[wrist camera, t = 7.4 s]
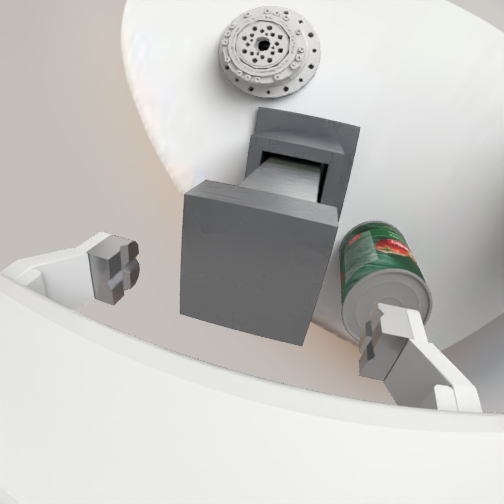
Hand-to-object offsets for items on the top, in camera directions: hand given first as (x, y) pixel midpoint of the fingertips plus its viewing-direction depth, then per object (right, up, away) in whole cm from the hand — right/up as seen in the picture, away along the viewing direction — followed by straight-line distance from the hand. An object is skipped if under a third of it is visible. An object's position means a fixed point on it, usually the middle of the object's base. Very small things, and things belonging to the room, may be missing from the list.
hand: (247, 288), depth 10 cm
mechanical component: (+2, +21, +17) cm, 27 cm away
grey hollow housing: (+5, +10, +21) cm, 24 cm away
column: (+4, +8, +16) cm, 18 cm away
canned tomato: (+14, +1, +24) cm, 27 cm away
